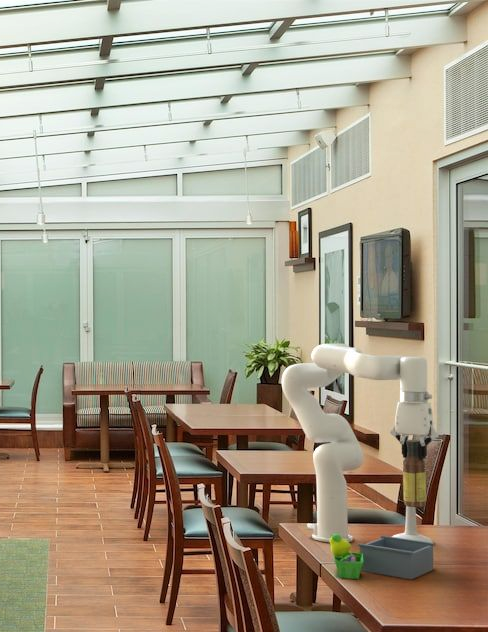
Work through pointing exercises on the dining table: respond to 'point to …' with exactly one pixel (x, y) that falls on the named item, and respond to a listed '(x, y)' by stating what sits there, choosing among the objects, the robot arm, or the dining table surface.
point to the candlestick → (412, 527)
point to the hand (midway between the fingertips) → (414, 457)
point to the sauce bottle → (414, 476)
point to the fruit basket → (345, 558)
